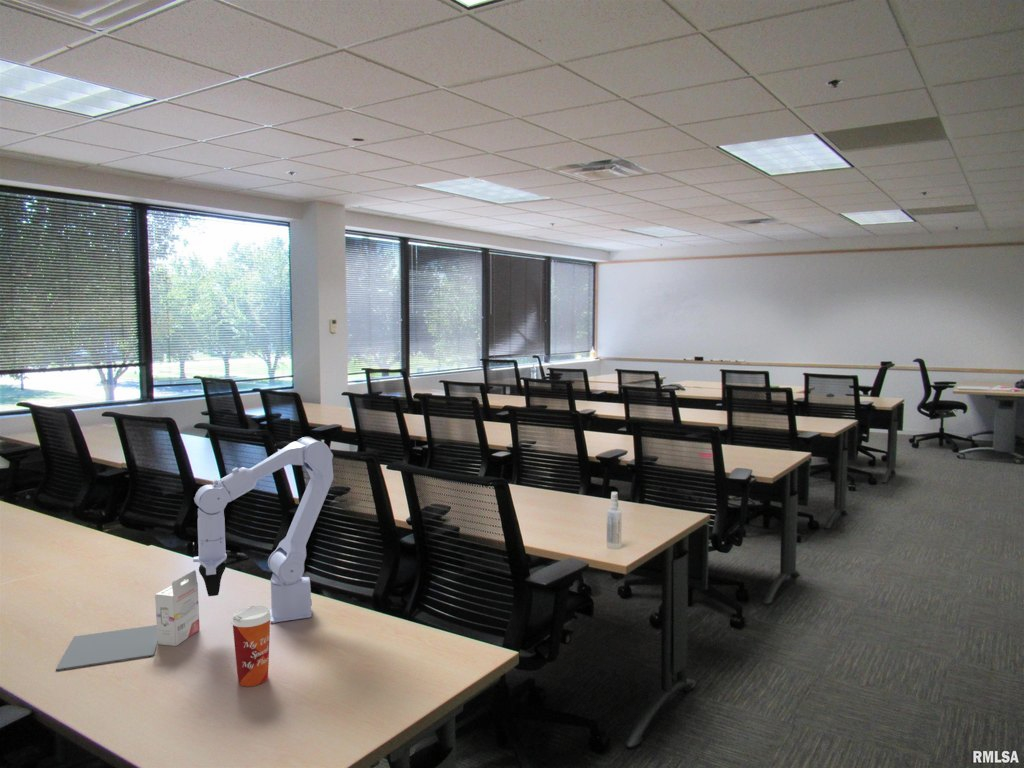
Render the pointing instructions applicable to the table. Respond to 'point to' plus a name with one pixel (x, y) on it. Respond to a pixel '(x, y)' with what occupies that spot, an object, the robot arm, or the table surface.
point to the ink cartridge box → (178, 611)
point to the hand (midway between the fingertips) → (213, 594)
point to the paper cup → (252, 644)
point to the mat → (110, 647)
